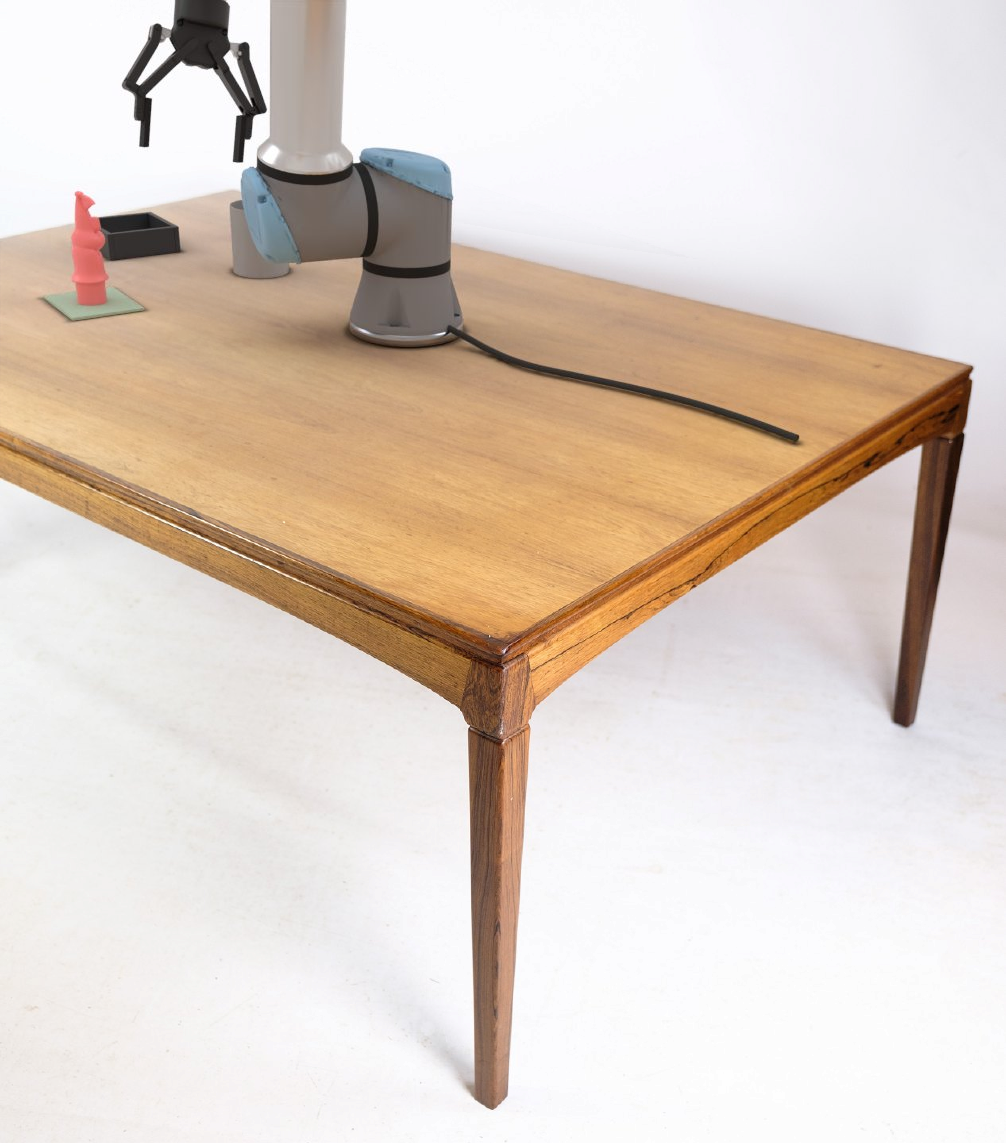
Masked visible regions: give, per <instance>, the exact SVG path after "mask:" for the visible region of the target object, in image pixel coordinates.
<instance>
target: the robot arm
mask: <svg viewBox="0 0 1006 1143" xmlns="http://www.w3.org/2000/svg"><path fill="white" fill-rule="evenodd" d="M347 2H348V0H269V136H268V138H267V139H265V140H264V141H263V142H262V143H261V144H259V145H258V147H257V148H256V149H257V150H256V167H255V166H249V167H248V168H245V169H243V171H242V172H241V178H240V193H241V195H240V196H241V200H242V202H243V208H244V212H245V217H246V221H247V224H248V228H249V231H250V234H251V237H252V239H253V242H254V244H255V246H256V248H257V250H258V252H259V253H260V255H261V256H262V257H263V258H264V259H265V260H267V261H268V262H270V263H275V264H279V263H288V264H295V265H302V264H304V263H305V264H306V263H314V262H325V261H335V260H338V261H339V260H347V259H348V260H349V259H360V258H362V259H361V260H362V271H361V272H362V273H361V277H360V280H359V283H358V288H357V290H356V292H355V296H354V300H353V303H352V306H351V309H350V313H349V331H350V333H351V334H352V335H353V336H355V337H356V338H358V339H360V340H362V341H365V342H367V343H372V344H375V345H381V346H388V347H401V348H403V347H404V348H415V347H416V348H417V347H429V346H436V345H443V344H445V343H448V342H451V341H454V340H456V339H458V338H460V339H462V340H464V341H465V342H466V343H469V344H471V345H472V346H474V347H476V348H478V349H479V350H481V351H483V352H485V353H486V354H490V355H491V356H493V357H495V358H498V359H500V360H501V361H504V362H507V363H510V364H512V365H515V366H519V367H521V368H525V369H527V370H531V371H536V372H539V373H543V374H548V375H554V376H558V377H562V378H569V379H573V380H578V381H581V382H587V383H592V384H596V385H602V386H606V387H611V388H615V389H619V390H625V391H628V392H629V391H630V392H633V393H638V394H642V395H647V396H651V397H655V398H658V399H663V400H668V401H671V402H676V403H679V404H682V405H686V406H690V407H692V408H697V409H700V410H704V411H706V412H709V413H713V414H716V415H719V416H721V417H726V418H728V419H732V420H735V421H737V422H740V423H742V424H746V425H749V426H751V427H754V428H757V429H760V430H763V431H766V432H769V433H771V434H774V435H776V436H779V437H782V438H783V439H786V440H789V441H792V442H795V443H797V442H799V440H800V434H797V433H796V432H795V433H794V432H792V431H789V430H786V429H784V428H781V427H778V426H776V425H773V424H771V423H769V422H768V423H767V422H766V421H762V420H759V419H756V418H754V417H750V416H748V415H745V414H742V413H738V412H736V411H733V410H730V409H727V408H723V407H720V406H718V405H714V404H711V403H707V402H703V401H701V400H696V399H694V398H690V397H686V396H682V395H679V394H675V393H672V392H667V391H663V390H660V389H659V390H658V389H655V388H651V387H646V386H641V385H637V384H634V383H633V384H632V383H629V382H624V381H620V380H616V379H615V380H614V379H610V378H605V377H600V376H595V375H591V374H586V373H581V372H577V371H572V370H565V369H561V368H556V367H552V366H547V365H542V364H538V363H535V362H530V361H527V360H524V359H521V358H518V357H515V356H512V355H509V354H507V353H505V352H503V351H500V350H498V349H496V348H494V347H491V346H490V345H488V344H485V343H484V342H482V341H480V340H479V339H477V338H475V337H473V336H472V335H470V334H468V333H466V332H464V316H463V311H462V308H461V305H460V301H459V298H458V295H457V292H456V288H455V285H454V282H453V278H452V274H451V273H452V272H451V267H452V266H451V264H452V262H451V261H452V260H451V258H452V225H453V224H452V219H453V201H454V195H453V185H452V184H453V183H452V171H451V169H450V166H449V165H448V164H447V163H446V162H445V161H444V160H442V159H440V158H438V157H435V156H433V155H429V154H425V153H420V152H417V151H410V150H404V149H399V148H398V149H397V148H388V147H366V148H363V149H362V150H361V151H360V155H359V156H358V159H359V162H354V155H353V154H352V152H351V150H349V149H348V147H347V146H346V145H345V144H344V143H343V142H342V135H343V108H344V107H343V106H344V80H345V55H346V54H345V52H346V31H347V30H346V28H347V27H346V26H347ZM173 9H174V10H173V25H172V28H171V29H170V28H167V27H164V26H163V25H162V24H160V23H157V22H156V23H154V24H152V25H150V26H149V29H148V35H147V41H146V42H145V44H144V46H143V47H142V49H141V51H140V53H139V54H138V56H137V58H136V59H135V60H134V62H133V64H132V66H131V67H130V69H129V71H128V72H127V74H126V76H125V77H124V79H123V81H122V82H121V87H122V89H123V90H125V91H128V92H129V93H131V94H132V95H133V97H134V104H133V105H134V106H133V118H134V119H133V120H134V121H136V122H140V124H139V125H140V126H139V141H138V142H139V143H138V147H139V148H150V136H151V122H152V121H151V120H152V106H153V97H147V95H148V94H149V93H150V92H151V91H152V90H153V89H154V88H155V87H156V86H157V85H158V84H159V83H160V82H162V80H164V78H165V77H166V76H168V74H170V73H171V72H172V71H173V69H175V68H176V67H177V66H178V65H179V64H181V63H182V64H184V66H186V67H191V68H192V67H197V68H199V69H201V70H206V71H208V70H211V69H212V70H213V72H214V73H215V75H217V76H218V78H219V79H220V81H221V83H222V84H223V86H224V87H225V89H226V91H227V92H228V94H229V95H230V97H231V98H232V99H231V100H233V102H234V104H235V105H236V107H237V109H238V110H239V111H240V113H241V114H238V115H235V127H234V138H233V139H234V140H233V153H232V163H236V164H241V163H242V164H243V163H244V156H245V144H246V141H247V140H248V141H250V140H251V139H252V137H253V136H252V135H253V124H254V118H255V117H256V116H258V115H263V114H266V113H267V111H268V108H267V105H266V102H265V98H264V96H263V93H262V90H261V87H260V84H259V81H258V79H257V76H256V73H255V70H254V67H253V64H252V61H251V52H250V50H251V49H250V48H251V46H250V44H249V43H248V42H247V41H243V42H230V40H229V25H230V13H231V6H230V4H229V2H227V0H174V8H173ZM166 39H169V41H170V44H171V46H172V47H173V49H174V51H173V52H172V53H171V54H170V55H169V56H167V58H166V59H165V60H164V61H163V62H162V63H161V64H160V65H159V66H158V67H157V68H156V69H155V70H154V71H153V72H152V73H151V74H150V75H149V76H147V78H145V79H144V80H143V81H142V82H141V83H140V84H138V81H139V79H140V77H141V76H142V74H143V72H144V70H145V69H146V68H147V66H148V64H149V62H150V61H151V60H152V57H153V56H154V54H155V52H156V51H157V49H158V46H159V45H160V44H162V43H164V42H165V41H166ZM229 52H231V54H232V57H233V58H234V59H236V62H237V66H238V69H239V73H240V75H241V78H242V80H243V83H244V87H245V90H246V93H247V95H248V97H247V96H246V94H245V93H244V90H243V89H242V87H241V86H240V84H239V83H238V81H237V80H236V78H235V75H234V74H233V72H232V71H231V68H230V66H229V64H228V63H227V61H226V59H225V56H226V55H227V54H228V53H229ZM248 98H249V99H248Z"/></svg>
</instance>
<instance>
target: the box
mask: <svg viewBox="0 0 1006 1143" xmlns="http://www.w3.org/2000/svg"><path fill="white" fill-rule="evenodd" d="M97 217H98V218H99V221H100V226H101V230H100V232H102V233H103V235H104V236H105V244H104V245H103V247H102V248H101V249H100V250H99V251H100V252H101V254H102V257H103V258H105V259H107V260H108V261H115V260H124V259H132V258H141V257H149V256H157V255H165V254H173V253H181V238H180V228H179V226H178V225H176V224H174V223H173V222H170V221H169V220H167V219H166V218H163V217H161V216H160V215H157V214H156V213H154V212H152V211H144V212H137V213H136V212H135V213H126V214H116V215H115V214H114V215H108V216H106V215H105V216H97Z"/></svg>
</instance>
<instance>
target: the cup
mask: <svg viewBox="0 0 1006 1143" xmlns="http://www.w3.org/2000/svg"><path fill="white" fill-rule="evenodd" d="M229 217H230V218H229V219H230V220H229V222H230V234H231V253H232V268H233V274H235V275H237V276H239V277H243V278H244V277H245V278H249V279H271V278H272V279H273V278H278V277H283V276H285V275H287V274H289V271H290V269H289V266H290V265H289V263H279V264H275V263H270V262H268V261H267V260H265V259H264V258H263V257H262V256H261V255H260V253H259V252H258V250H257V248H256V246H255V244H254V242H253V239H252V237H251V234H250V231H249V228H248V224H247V221H246V217H245V212H244V208H243V202H242V199H237V200H234V201H232V202H230V203H229Z"/></svg>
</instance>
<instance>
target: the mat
mask: <svg viewBox="0 0 1006 1143" xmlns="http://www.w3.org/2000/svg"><path fill="white" fill-rule="evenodd" d="M106 295H107V302H106V303H104V304H100V305H81V304H79V303H78V300H77V292H76V290H75V291H68V292H61V293H53V294H45V295H43V296H42V297H43V299H44V300H45V301H46V302H48V303H49V304H50V305H52V306H53V307H54V308H55V309H56V310H58V311H59V312H60V313H63V315H64V316H66V317H67V318H68V319H70V320H71V321H72V322H75V321H81V320H89V319H94V318H101V317H109V316H115V315H123V314H130V313H136V312H137V313H138V312H144V311H145V307H144V306H142V305H140V304H139V303H137V302H136V301H135V300H133V299H132V298H131V297H129V296H127V295H126V294H125V293H123V292H121V291H120V290H119V289H117V288H116V287H114V286H106Z"/></svg>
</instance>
